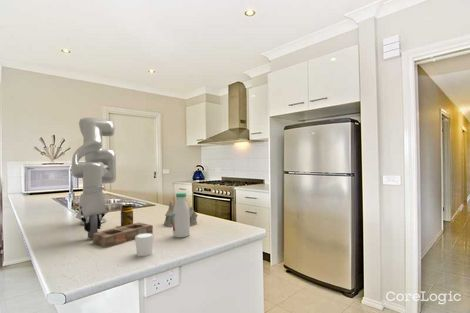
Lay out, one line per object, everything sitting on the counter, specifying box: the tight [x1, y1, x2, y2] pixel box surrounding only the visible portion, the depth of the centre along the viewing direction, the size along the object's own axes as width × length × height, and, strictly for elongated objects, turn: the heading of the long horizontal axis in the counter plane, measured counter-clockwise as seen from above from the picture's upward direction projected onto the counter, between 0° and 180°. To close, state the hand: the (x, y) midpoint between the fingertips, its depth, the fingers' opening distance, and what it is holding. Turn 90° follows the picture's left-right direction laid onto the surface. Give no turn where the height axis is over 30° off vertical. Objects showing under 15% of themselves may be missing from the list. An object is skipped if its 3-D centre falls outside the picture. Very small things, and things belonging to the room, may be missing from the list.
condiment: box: [115, 203, 134, 228], centre depth 137 cm, size 7×8×12 cm
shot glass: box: [134, 233, 155, 257], centre depth 99 cm, size 7×7×7 cm
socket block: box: [92, 222, 154, 248], centre depth 118 cm, size 11×23×4 cm, turn 146°
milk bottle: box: [172, 192, 191, 238], centre depth 121 cm, size 8×8×20 cm
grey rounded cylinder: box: [87, 214, 99, 239], centre depth 117 cm, size 4×4×12 cm
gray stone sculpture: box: [163, 201, 198, 228], centre depth 143 cm, size 16×16×15 cm
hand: (92, 229), depth 117 cm, fingers closed on grey rounded cylinder, 4 cm apart
